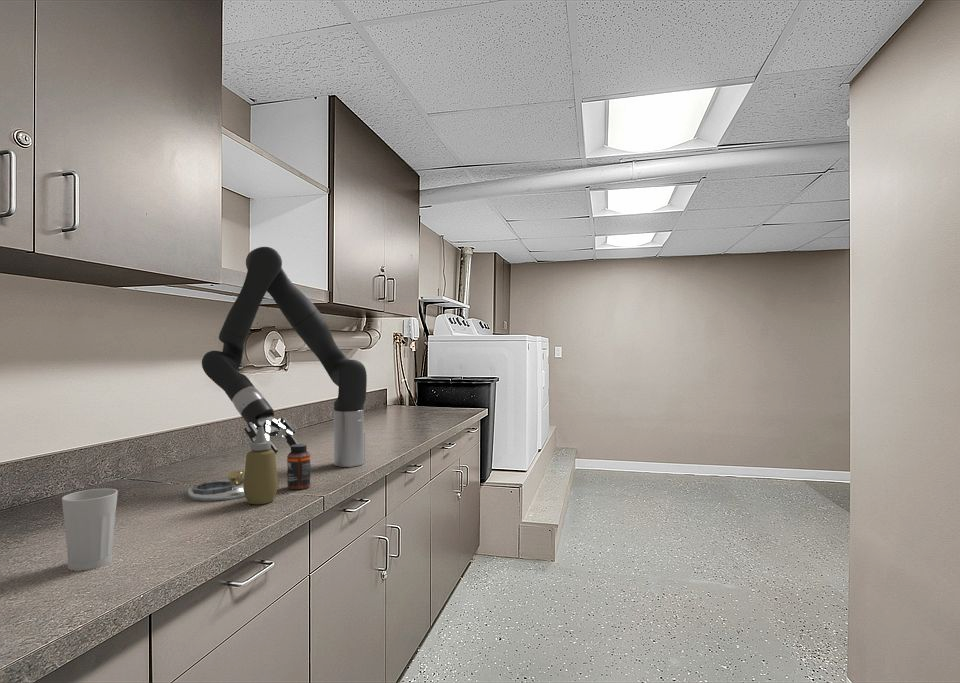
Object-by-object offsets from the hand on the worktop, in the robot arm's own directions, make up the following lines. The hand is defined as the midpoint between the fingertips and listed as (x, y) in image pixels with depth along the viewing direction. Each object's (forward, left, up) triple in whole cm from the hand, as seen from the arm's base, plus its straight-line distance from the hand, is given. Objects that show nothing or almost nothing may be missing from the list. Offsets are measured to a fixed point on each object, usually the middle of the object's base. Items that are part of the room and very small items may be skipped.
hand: (286, 450), depth 150 cm
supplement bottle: (0, +4, -10) cm, 11 cm away
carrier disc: (+11, -11, -9) cm, 18 cm away
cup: (+55, +4, -10) cm, 56 cm away
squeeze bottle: (+14, +4, -10) cm, 18 cm away
